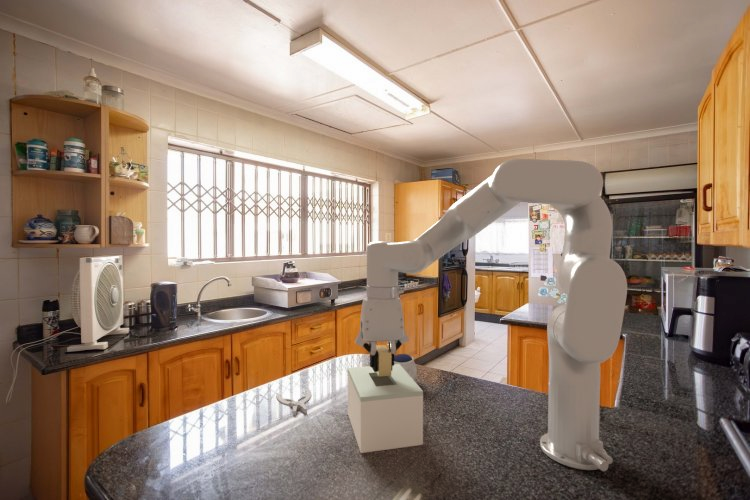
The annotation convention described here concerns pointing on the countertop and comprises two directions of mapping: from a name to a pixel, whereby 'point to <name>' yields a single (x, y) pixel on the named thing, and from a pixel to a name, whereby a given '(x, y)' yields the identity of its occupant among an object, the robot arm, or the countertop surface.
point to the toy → (405, 364)
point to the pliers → (297, 404)
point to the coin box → (384, 409)
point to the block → (383, 360)
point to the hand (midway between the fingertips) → (382, 368)
